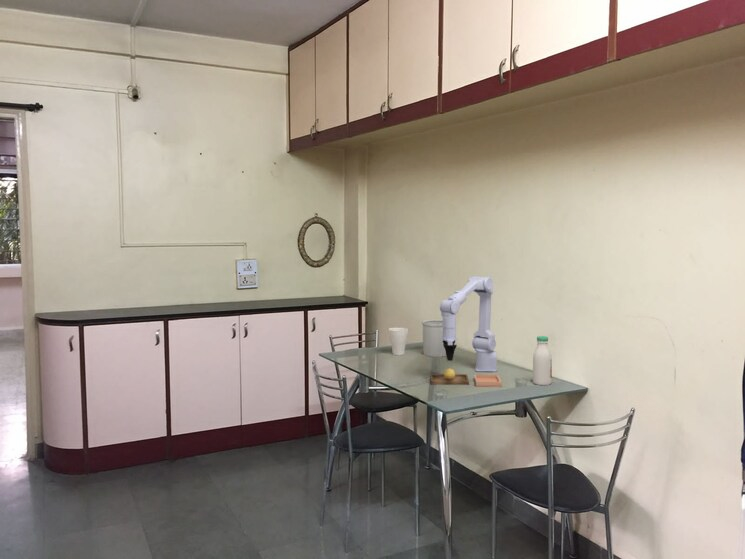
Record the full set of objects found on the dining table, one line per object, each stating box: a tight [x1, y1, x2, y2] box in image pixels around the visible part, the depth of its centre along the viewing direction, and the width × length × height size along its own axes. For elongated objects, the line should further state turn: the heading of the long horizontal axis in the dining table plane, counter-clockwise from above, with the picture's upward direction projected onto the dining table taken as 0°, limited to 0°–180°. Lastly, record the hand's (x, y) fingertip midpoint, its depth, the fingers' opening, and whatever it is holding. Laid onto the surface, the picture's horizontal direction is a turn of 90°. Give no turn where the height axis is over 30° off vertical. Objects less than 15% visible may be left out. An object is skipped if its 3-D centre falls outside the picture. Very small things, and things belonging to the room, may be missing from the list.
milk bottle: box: [532, 335, 553, 386], centre depth 262 cm, size 8×8×20 cm
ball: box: [443, 368, 456, 380], centre depth 268 cm, size 5×5×5 cm
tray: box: [430, 373, 470, 386], centre depth 269 cm, size 16×12×2 cm
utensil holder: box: [421, 318, 447, 358], centre depth 324 cm, size 15×15×18 cm
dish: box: [473, 374, 503, 388], centre depth 264 cm, size 10×12×2 cm
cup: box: [387, 327, 409, 356], centre depth 326 cm, size 10×10×14 cm
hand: (449, 358), depth 268 cm, fingers open, 7 cm apart
